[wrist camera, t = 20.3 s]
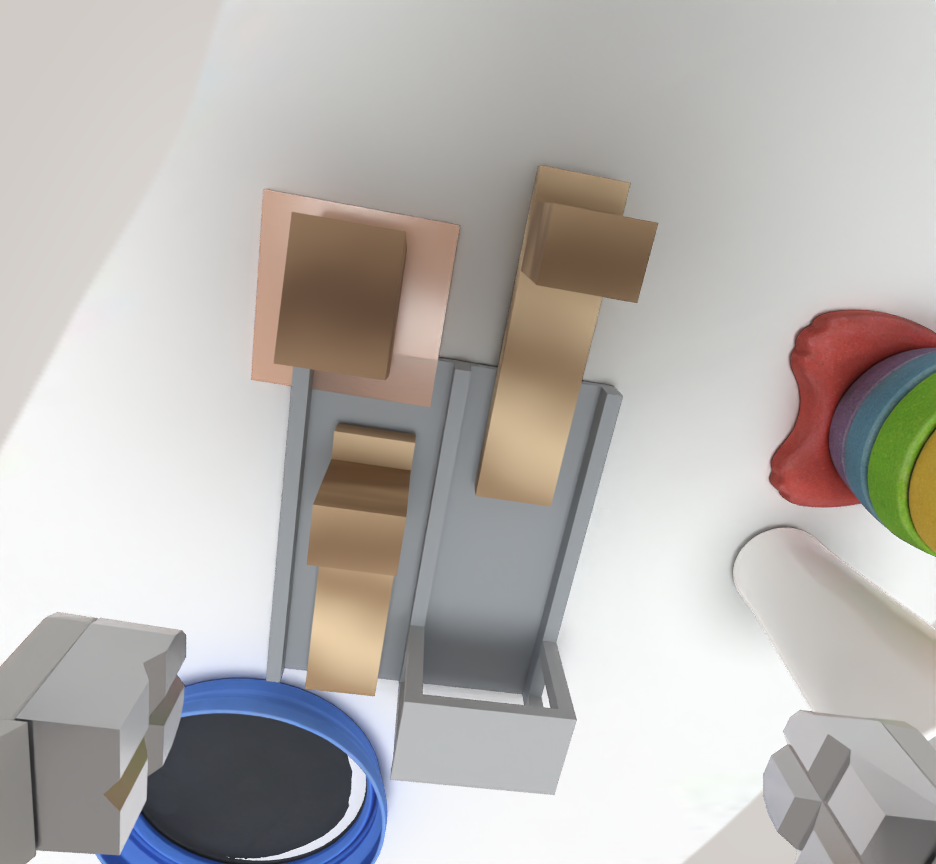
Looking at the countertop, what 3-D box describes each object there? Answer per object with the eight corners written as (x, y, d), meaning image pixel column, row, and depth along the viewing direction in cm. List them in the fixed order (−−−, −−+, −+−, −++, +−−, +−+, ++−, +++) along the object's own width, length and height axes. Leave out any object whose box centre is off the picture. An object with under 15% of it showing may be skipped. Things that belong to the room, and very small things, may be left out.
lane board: (302, 335, 32) (263, 376, 25) (613, 385, 33) (661, 437, 26) (273, 659, 38) (236, 765, 31) (533, 688, 40) (554, 794, 33)
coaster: (266, 189, 29) (263, 189, 29) (459, 225, 30) (460, 225, 30) (254, 376, 32) (251, 379, 32) (430, 403, 33) (429, 407, 33)
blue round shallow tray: (111, 861, 44) (84, 915, 41) (109, 650, 38) (78, 693, 35) (371, 882, 46) (366, 936, 43) (408, 684, 40) (406, 728, 37)
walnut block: (310, 232, 30) (291, 211, 25) (407, 249, 30) (405, 231, 26) (294, 362, 30) (273, 363, 26) (389, 376, 31) (384, 380, 26)
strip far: (337, 423, 32) (316, 472, 27) (415, 434, 33) (411, 485, 27) (309, 674, 38) (285, 761, 32) (376, 681, 38) (365, 768, 32)
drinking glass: (719, 619, 39) (877, 859, 25) (714, 523, 37) (886, 728, 23) (829, 600, 39) (1051, 830, 25) (831, 502, 36) (1079, 695, 22)
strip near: (537, 166, 29) (563, 159, 23) (623, 183, 29) (669, 180, 23) (474, 485, 34) (482, 545, 28) (547, 496, 34) (569, 557, 29)
